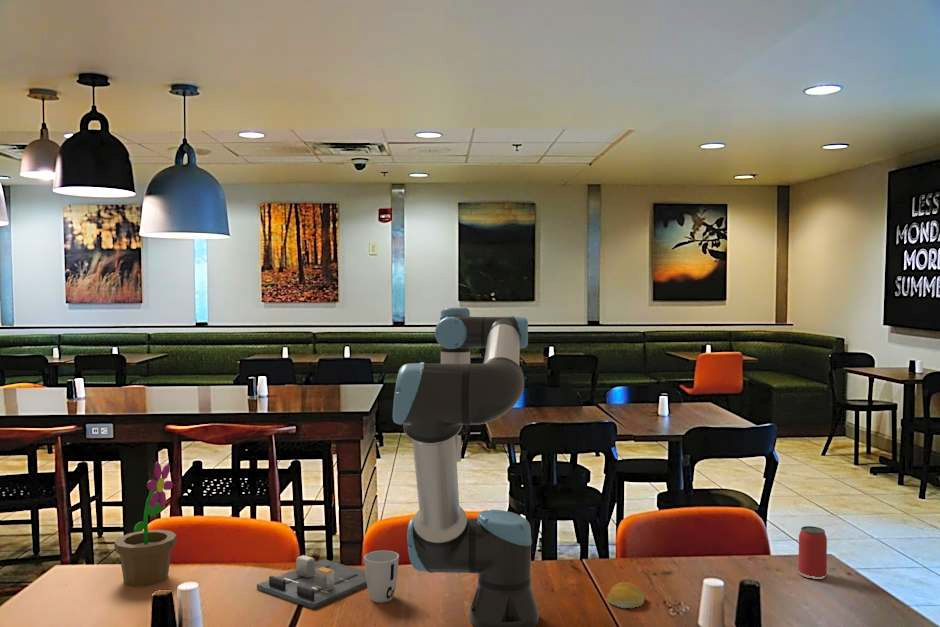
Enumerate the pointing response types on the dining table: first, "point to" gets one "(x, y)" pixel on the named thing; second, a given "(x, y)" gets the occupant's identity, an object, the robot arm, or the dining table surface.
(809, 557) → the beer can
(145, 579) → the flowerpot
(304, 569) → the far fader
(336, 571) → the console
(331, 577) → the near fader
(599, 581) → the dining table surface
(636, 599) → the bread roll
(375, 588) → the cup
